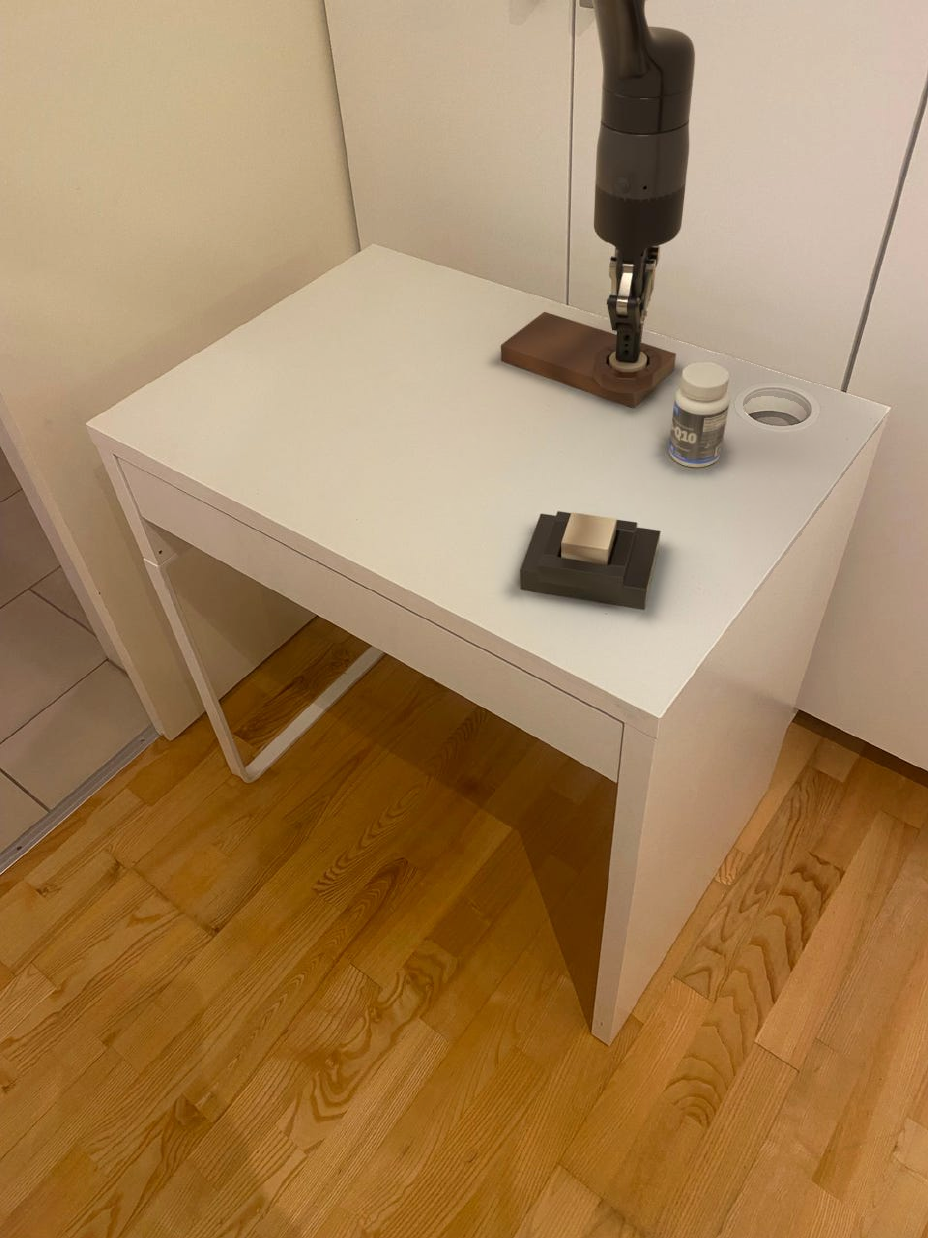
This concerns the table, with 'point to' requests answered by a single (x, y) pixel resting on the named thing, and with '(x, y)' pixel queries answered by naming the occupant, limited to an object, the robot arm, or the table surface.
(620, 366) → the far key
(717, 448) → the pill bottle
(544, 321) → the brown flat piece
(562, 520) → the key box
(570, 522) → the near key
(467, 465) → the table surface
